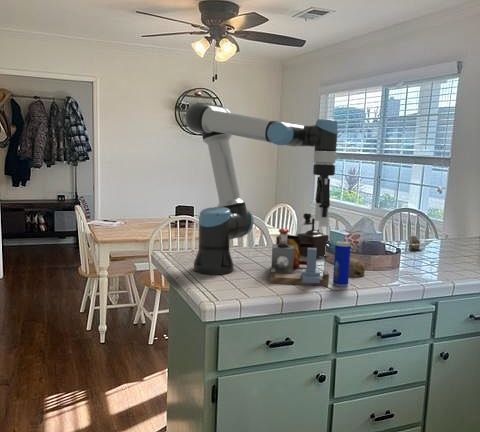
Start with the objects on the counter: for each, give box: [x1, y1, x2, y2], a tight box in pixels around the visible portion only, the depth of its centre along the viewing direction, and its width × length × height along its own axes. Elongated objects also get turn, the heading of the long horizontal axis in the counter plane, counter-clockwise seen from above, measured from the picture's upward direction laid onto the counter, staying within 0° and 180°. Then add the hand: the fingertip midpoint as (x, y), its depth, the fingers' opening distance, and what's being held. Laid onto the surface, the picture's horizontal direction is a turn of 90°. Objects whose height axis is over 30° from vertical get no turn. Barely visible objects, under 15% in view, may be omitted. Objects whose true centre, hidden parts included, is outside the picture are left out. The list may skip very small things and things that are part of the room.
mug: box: [275, 234, 313, 270], centre depth 193 cm, size 10×14×12 cm
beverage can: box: [332, 240, 352, 287], centre depth 167 cm, size 5×5×15 cm
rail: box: [269, 267, 330, 287], centre depth 169 cm, size 20×6×4 cm, turn 85°
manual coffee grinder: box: [296, 212, 330, 258], centre depth 218 cm, size 16×11×18 cm
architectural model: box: [407, 234, 423, 251], centre depth 236 cm, size 3×7×7 cm, turn 120°
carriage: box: [301, 248, 321, 283], centre depth 168 cm, size 6×8×11 cm
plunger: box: [278, 228, 290, 248], centre depth 181 cm, size 4×4×7 cm
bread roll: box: [349, 257, 365, 278], centre depth 184 cm, size 10×10×8 cm
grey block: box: [270, 243, 294, 274], centre depth 182 cm, size 8×9×10 cm
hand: (320, 223), depth 172 cm, fingers open, 13 cm apart
